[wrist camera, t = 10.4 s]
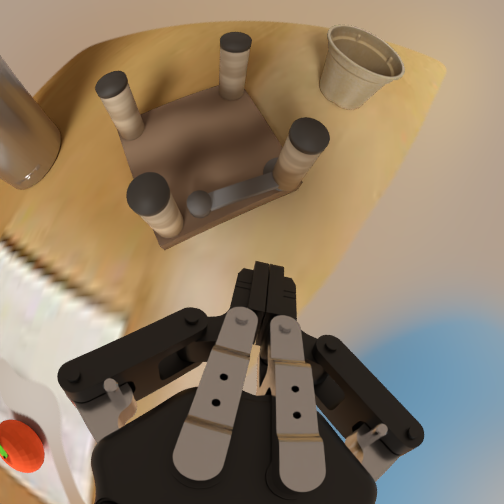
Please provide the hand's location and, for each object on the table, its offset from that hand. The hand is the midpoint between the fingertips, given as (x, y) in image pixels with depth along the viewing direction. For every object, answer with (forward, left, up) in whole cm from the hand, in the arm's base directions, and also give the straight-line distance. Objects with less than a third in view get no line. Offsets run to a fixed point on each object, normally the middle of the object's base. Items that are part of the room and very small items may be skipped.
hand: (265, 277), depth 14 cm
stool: (-13, +2, -11) cm, 17 cm away
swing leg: (-7, +3, -8) cm, 11 cm away
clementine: (+6, -33, -11) cm, 36 cm away
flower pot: (-16, +22, -11) cm, 29 cm away
